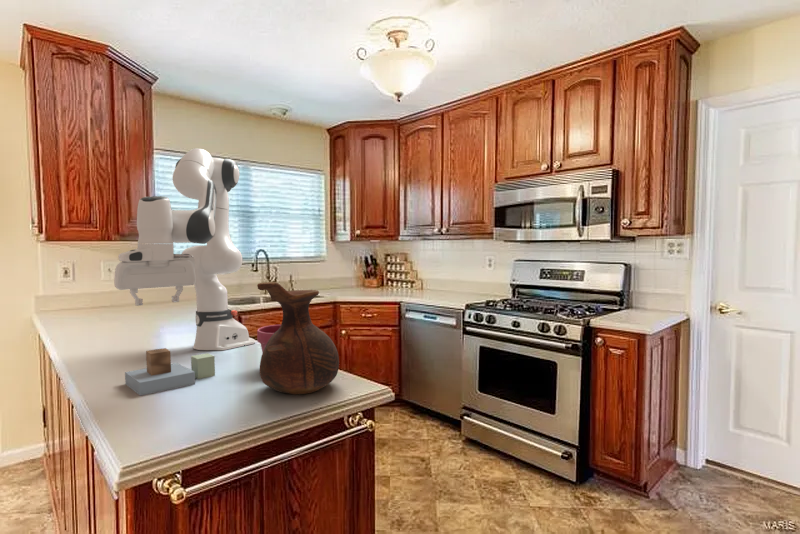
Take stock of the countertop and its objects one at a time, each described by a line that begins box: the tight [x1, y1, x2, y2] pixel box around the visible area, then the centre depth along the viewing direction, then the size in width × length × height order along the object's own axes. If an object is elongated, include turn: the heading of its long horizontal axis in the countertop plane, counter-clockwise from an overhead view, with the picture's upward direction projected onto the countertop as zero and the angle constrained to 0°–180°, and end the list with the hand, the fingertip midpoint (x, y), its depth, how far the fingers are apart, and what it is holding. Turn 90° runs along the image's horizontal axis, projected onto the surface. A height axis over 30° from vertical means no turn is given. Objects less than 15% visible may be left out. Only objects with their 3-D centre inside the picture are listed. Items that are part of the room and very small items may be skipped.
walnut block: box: [145, 347, 172, 376], centre depth 129 cm, size 5×5×6 cm
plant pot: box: [256, 324, 281, 353], centre depth 146 cm, size 14×14×13 cm
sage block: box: [190, 353, 216, 380], centre depth 138 cm, size 5×5×6 cm
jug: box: [256, 281, 340, 395], centre depth 125 cm, size 22×22×30 cm
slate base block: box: [124, 362, 196, 396], centre depth 130 cm, size 14×14×4 cm
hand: (157, 303), depth 128 cm, fingers open, 8 cm apart
